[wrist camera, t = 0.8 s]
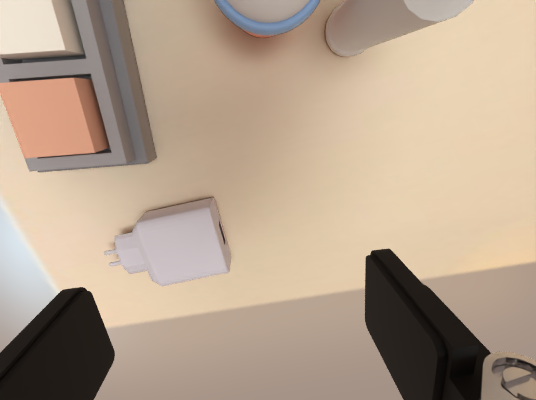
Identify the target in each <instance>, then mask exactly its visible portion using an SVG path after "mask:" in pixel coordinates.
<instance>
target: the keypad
mask: <svg viewBox="0 0 536 400" xmlns="http://www.w3.org/2000/svg"><path fill="white" fill-rule="evenodd" d="M71 2H72V5H73V9H74V13H75V17H76V20H77V24H78V28H79V32H80V36H81V39H82V43H83V47H84V51H85V54H86V55H77V56H63V57H48V58H34V59H19V60H13V59H6V58H0V83H6V82H20V81H34V80H48V79H62V78H81V79H91V80H92V81H93V84H94V88H95V92H96V96H97V100H98V103H99V107H100V111H101V115H102V118H103V122H104V126H105V130H106V133H107V137H108V141H109V145H110V147H109V148H107V149H104V150H101V151H98V152H96V153H85V154H72V155H60V156H47V157H34V158H25V161H26V163H27V166H28V169H29V171H38V172H48V171H60V170H73V169H85V168H97V167H110V166H122V165H135V164H147V163H149V162H151V161H152V160H154V159H155V158H156V154H155V149H154V144H153V139H152V135H151V130H150V125H149V120H148V116H147V111H146V106H145V101H144V97H143V92H142V87H141V83H140V78H139V73H138V68H137V64H136V59H135V54H134V49H133V45H132V40H131V35H130V30H129V26H128V21H127V16H126V11H125V7H124V2H123V0H71Z"/></svg>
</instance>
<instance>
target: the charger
mask: <svg viewBox="0 0 536 400" xmlns="http://www.w3.org/2000/svg"><path fill="white" fill-rule="evenodd" d="M219 221H220V224H221V227H222V230H223V234H224V237H225V245H224V240H223V237H222V233H221V230H220V227H219ZM115 247H116V249H114V250H109V251H105V252H104V255H109V254H114V253H117V255H118V257H119V259H120V261H116V262H111V263H110V264H109V265H110V266H116V265H120V264H122V266H123V268H124V269H125V270H126V271H127V272H129V273H130V274H133V273H138V272H143V271H147V270H148V273H149V275H150V277H151V279H152V281H154V282H155V283H157V284H159V285H161V286H166V285H171V284H176V283H180V282H185V281H190V280H195V279H200V278H204V277H209V276H214V275H219V274H224V273H228V272H229V271H230V263H231V254H230V250H229V247H228V243H227V240H226V236H225V233H224V229H223V226H222V223H221V219H220V216H219V212H218V209H217V205H216V202H215V199H214V198H209V199H204V200H199V201H194V202H190V203H185V204H180V205H176V206H171V207H166V208H162V209H157V210H152V211H148V212H146V213H145V214H144V215H143V216H142V217H141V218H140V219H139V220H138V221H137V223H136V225H135V227H134V229H133V231H132V232H131V233H127V234H122V235H117V236H115Z"/></svg>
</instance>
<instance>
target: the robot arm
mask: <svg viewBox="0 0 536 400" xmlns="http://www.w3.org/2000/svg"><path fill="white" fill-rule="evenodd" d="M365 322H366V326H367V329H368V331H369V333H370V335H371V336H372V339H373V340H374V343H375V345H376V346H377V348H378V350H379V352H380V354H381V356H382V358H383V360H384V362H385V364H386V366H387V368H388V370H389V372H390V374H391V376H392V378H393V380H394V382H395V384H396V385H397V388H398V390H399V392H400V394H401V395H402V398H403V399H404V400H536V361H535V360H533V359H531V358H528V357H525V356H523V355H520V354H516V353H512V352H496V353H490V352H489V350H487V348H486V347H485V346H484V345H483V344H482V343H481V342H480V341H479V340H478V339H477V338H476V337H475V336H474V335H473V334H472V333H471V332H470V330H469V329H468V328H467V327H466V326H465V325H464V324H463V323H462V322H461V321H460V320H459V319H458V318H457V317H456V316H455V315H454V313H453V312H452V311H451V310H450V309H449V308H448V307H447V306H446V305H445V304H444V303H443V302H442V301H441V300H440V299H439V298H438V297H437V296H436V295H435V293H434V292H433V291H432V290H431V289H430V288H428V287H427V286H426V285H423V284H422V283H421V282H420V281H419V279H418V278H417V277H416V276H415V275H414V274H413V273H412V272H411V271H410V270H409V269H408V268H407V267H406V266H405V264H404V263H403V262H402V261H401V260H400V259H399V258H398V257H397V256H396V255H395V254H394V253H393V252H392V251H391V250H390V249H382V250H374V251H371V254H370V255H368V256H366V276H365ZM114 356H115V353H114V349H113V346H112V344H111V341H110V339H109V336H108V334H107V331H106V328H105V326H104V323H103V321H102V318H101V316H100V313H99V310H98V308H97V305H96V303H95V300H94V298H93V295H92V293H91V292H90V291H87V290H86V289H85V288H83V287H79V288H71V289H65V290H62V291H61V292H60V293H59V294H58V295H57V296H56V297H55V298H54V299H53V300H52V301H51V302H50V303H49V304H48V305H47V306H46V307H45V308H44V309H43V310H42V311H41V312H40V313H39V314H38V315H37V316H36V317H35V318H34V319H33V320H32V321H31V322H30V323H29V324H28V325H27V326H26V327H25V328H24V329H23V330H22V331H21V332H20V333H19V335H17V336H16V337H15V338H14V339H13V340H12V341H11V342H10V344H9V345H7V346H6V347H5V349H4V350H3V351H2V352H1V353H0V400H94V398H95V396H96V394H97V392H98V390H99V388H100V386H101V385H102V383H103V381H104V379H105V377H106V375H107V373H108V371H109V369H110V367H111V365H112V363H113V361H114Z"/></svg>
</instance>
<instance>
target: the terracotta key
mask: <svg viewBox="0 0 536 400" xmlns="http://www.w3.org/2000/svg"><path fill="white" fill-rule="evenodd" d="M0 95H1V97H2V100H3V103H4V105H5V108H6V111H7V113H8V116H9V119H10V121H11V124H12V126H13V129H14V132H15V134H16V137H17V140H18V142H19V145H20V148H21V150H22V153H23V156H24V158H34V157H47V156H60V155H72V154H85V153H96V152H98V151H101V150H104V149H107V148H109V147H110V145H109V141H108V137H107V133H106V130H105V126H104V122H103V118H102V115H101V111H100V107H99V103H98V100H97V96H96V92H95V88H94V84H93V81H92V80H91V79H81V78H62V79H48V80H34V81H20V82H6V83H0Z"/></svg>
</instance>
